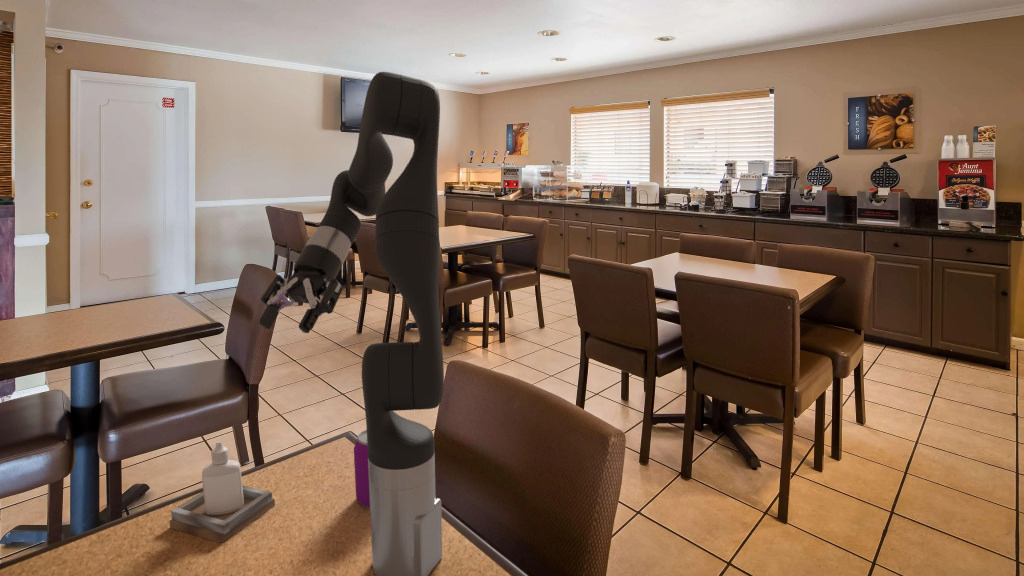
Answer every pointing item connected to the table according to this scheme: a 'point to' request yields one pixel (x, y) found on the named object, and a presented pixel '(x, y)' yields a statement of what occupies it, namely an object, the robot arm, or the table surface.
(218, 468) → the eye dropper bottle
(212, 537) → the grey square tray
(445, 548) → the table surface
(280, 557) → the table surface
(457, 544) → the table surface
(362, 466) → the beverage can
